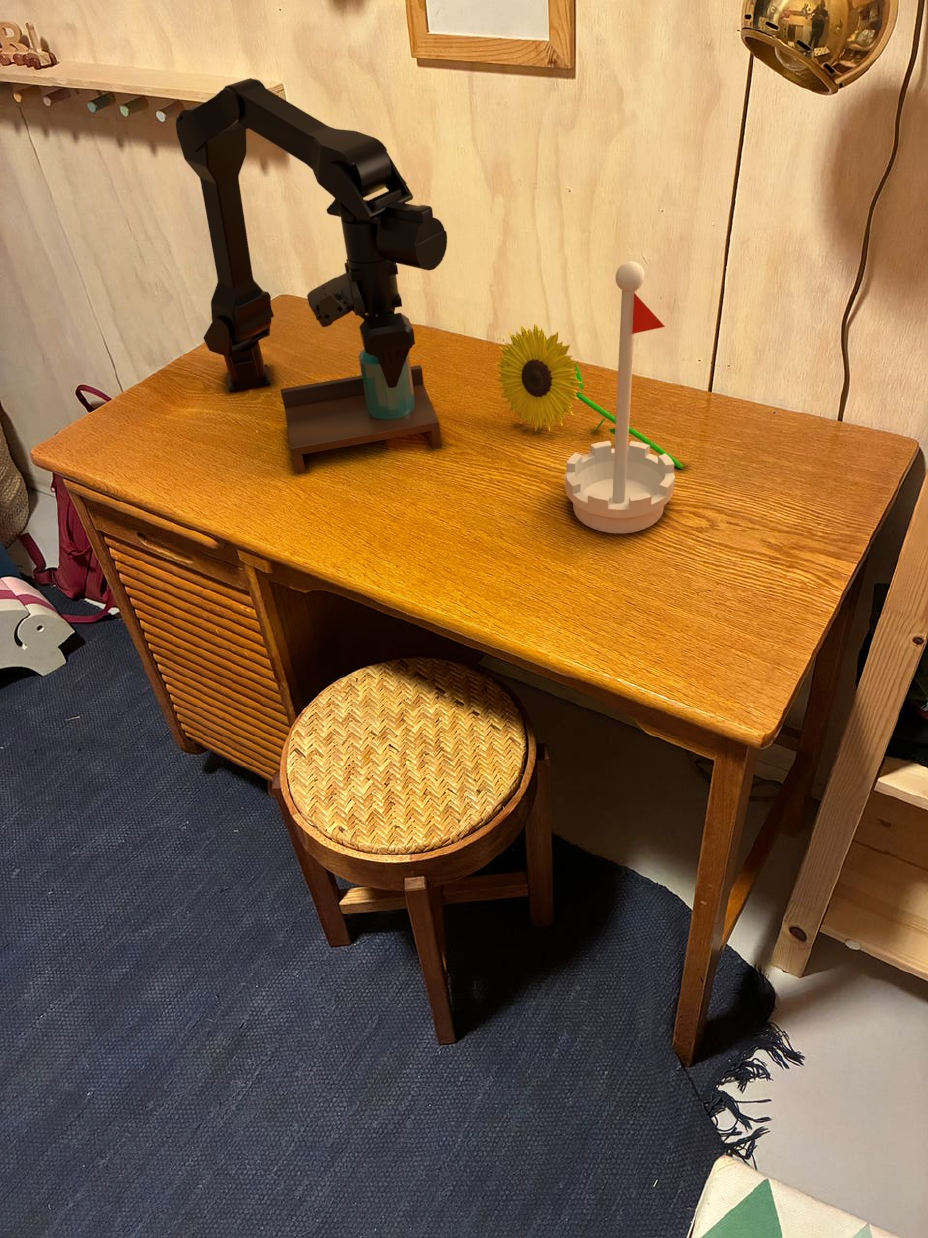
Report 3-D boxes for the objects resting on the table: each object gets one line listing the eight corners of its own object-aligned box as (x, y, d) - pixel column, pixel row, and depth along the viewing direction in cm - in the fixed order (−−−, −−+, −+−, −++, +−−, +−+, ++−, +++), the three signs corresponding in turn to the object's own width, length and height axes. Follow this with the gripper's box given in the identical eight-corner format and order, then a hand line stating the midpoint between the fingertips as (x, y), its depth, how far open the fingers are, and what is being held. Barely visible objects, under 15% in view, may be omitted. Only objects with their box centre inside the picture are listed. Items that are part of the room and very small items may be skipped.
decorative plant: (714, 417, 113) (534, 295, 123) (692, 430, 110) (507, 303, 119) (664, 506, 123) (501, 387, 133) (642, 521, 120) (475, 397, 129)
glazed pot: (364, 400, 128) (355, 346, 123) (410, 392, 129) (403, 338, 124) (371, 423, 124) (362, 368, 118) (418, 414, 124) (412, 360, 119)
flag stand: (543, 504, 114) (538, 264, 94) (618, 464, 119) (630, 228, 99) (617, 552, 106) (630, 301, 86) (695, 507, 111) (724, 260, 91)
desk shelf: (289, 429, 132) (280, 388, 128) (425, 405, 134) (420, 364, 130) (296, 474, 123) (286, 431, 119) (441, 447, 125) (437, 404, 121)
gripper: (298, 238, 118) (320, 351, 129) (312, 294, 104) (335, 415, 115) (383, 225, 119) (397, 338, 130) (408, 278, 106) (422, 399, 116)
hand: (386, 371), depth 123 cm, fingers open, 9 cm apart
